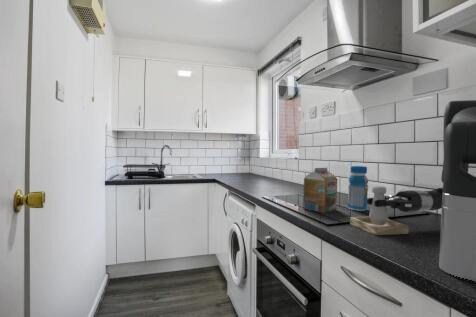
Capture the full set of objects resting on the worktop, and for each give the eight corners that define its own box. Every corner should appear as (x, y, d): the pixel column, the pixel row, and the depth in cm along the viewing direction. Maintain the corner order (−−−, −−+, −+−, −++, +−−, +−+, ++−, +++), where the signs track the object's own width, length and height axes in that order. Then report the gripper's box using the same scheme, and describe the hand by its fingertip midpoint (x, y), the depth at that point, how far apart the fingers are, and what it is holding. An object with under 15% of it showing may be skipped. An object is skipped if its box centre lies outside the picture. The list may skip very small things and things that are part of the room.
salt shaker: (390, 226, 85) (391, 187, 85) (371, 225, 86) (372, 187, 86) (384, 221, 91) (385, 185, 90) (366, 220, 92) (367, 184, 92)
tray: (408, 233, 84) (408, 225, 84) (375, 235, 81) (375, 227, 81) (379, 222, 96) (379, 216, 96) (349, 223, 93) (350, 217, 93)
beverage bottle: (352, 211, 114) (354, 166, 114) (344, 207, 123) (345, 165, 122) (371, 211, 115) (372, 167, 114) (361, 207, 123) (363, 166, 122)
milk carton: (315, 205, 124) (317, 166, 124) (336, 209, 116) (337, 168, 116) (303, 208, 117) (304, 167, 117) (324, 213, 109) (325, 168, 109)
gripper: (397, 187, 98) (358, 188, 94) (432, 193, 84) (387, 195, 81) (397, 207, 98) (357, 208, 95) (431, 216, 85) (386, 218, 81)
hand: (371, 202), depth 88 cm, fingers closed on salt shaker, 3 cm apart
